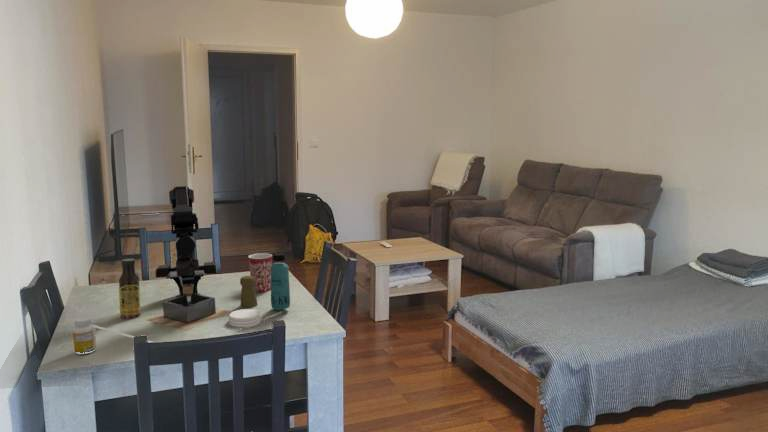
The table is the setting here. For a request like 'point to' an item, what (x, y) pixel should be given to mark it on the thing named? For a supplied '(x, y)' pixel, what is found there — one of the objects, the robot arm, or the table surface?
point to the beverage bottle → (279, 283)
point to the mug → (261, 271)
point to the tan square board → (184, 326)
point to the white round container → (244, 318)
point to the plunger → (188, 292)
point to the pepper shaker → (248, 292)
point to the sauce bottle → (129, 291)
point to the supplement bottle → (84, 335)
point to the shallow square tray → (189, 308)
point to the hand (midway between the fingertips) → (188, 294)
